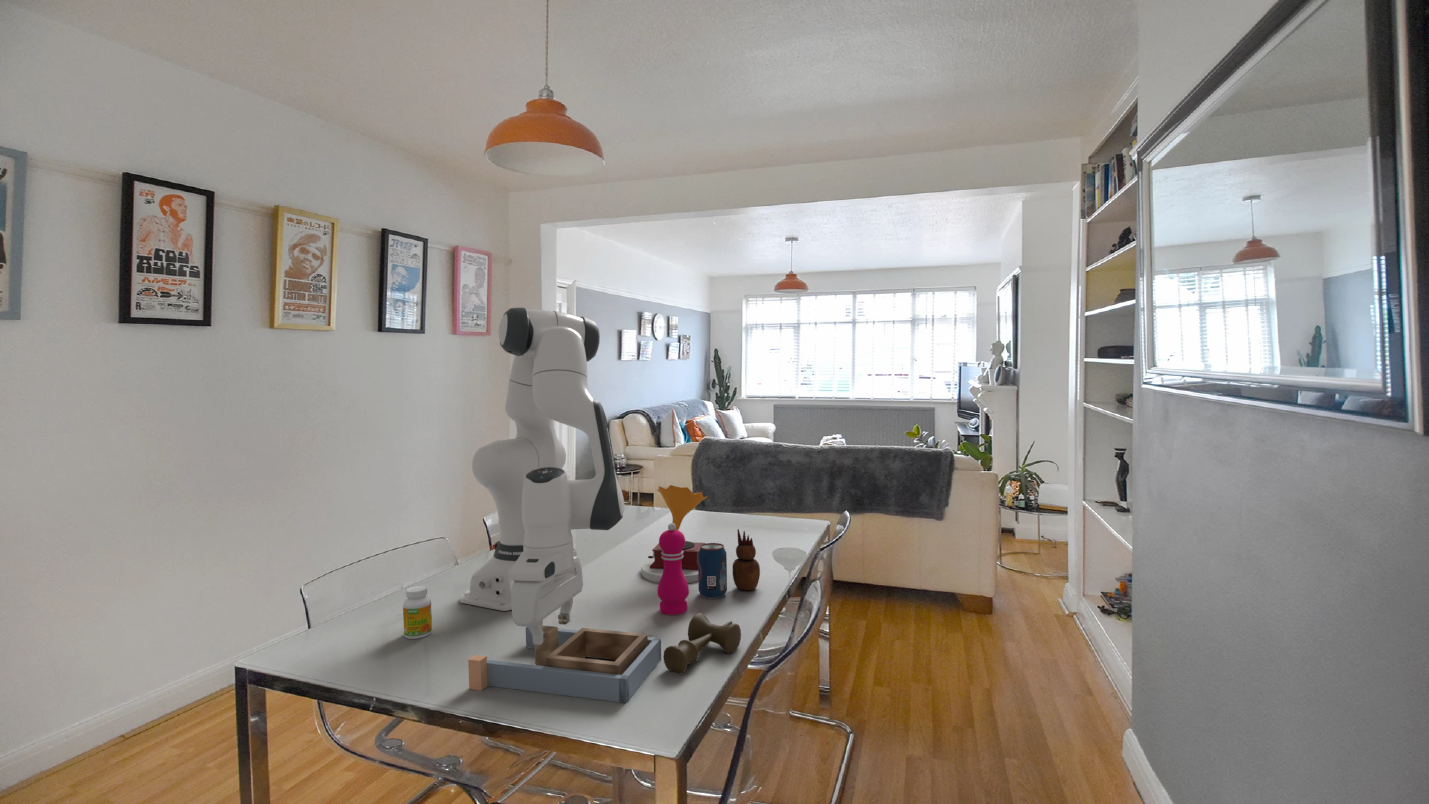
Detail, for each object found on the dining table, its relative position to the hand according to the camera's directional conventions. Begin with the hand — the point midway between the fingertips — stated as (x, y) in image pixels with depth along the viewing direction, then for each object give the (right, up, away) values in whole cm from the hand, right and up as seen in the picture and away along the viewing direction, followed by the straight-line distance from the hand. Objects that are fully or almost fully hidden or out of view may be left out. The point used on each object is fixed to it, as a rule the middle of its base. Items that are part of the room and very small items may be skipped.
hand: (552, 632), depth 119 cm
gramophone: (+20, -4, +58) cm, 61 cm away
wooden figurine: (+38, -4, +43) cm, 57 cm away
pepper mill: (+20, -5, +29) cm, 36 cm away
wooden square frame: (+7, -6, -2) cm, 9 cm away
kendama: (+28, -6, +6) cm, 29 cm away
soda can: (+29, -5, +39) cm, 49 cm away
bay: (+4, -7, -1) cm, 8 cm away
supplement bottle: (-33, -7, +17) cm, 37 cm away
